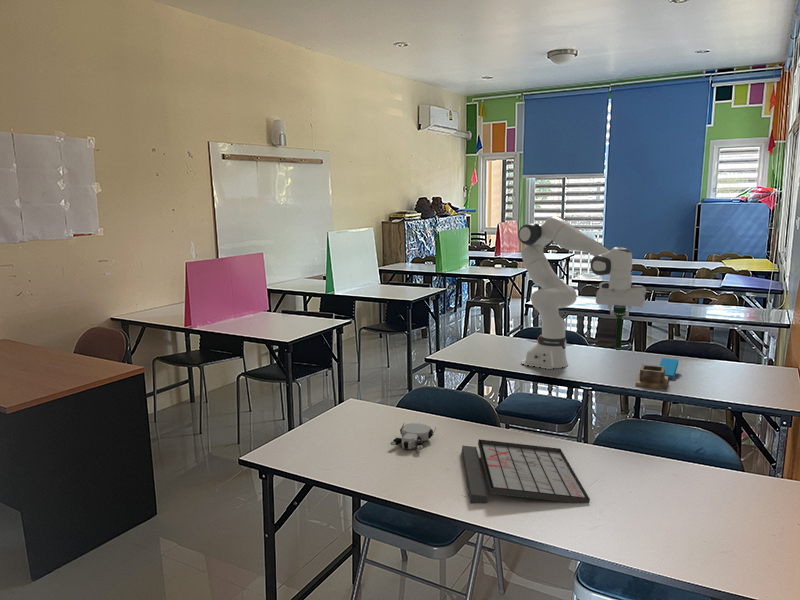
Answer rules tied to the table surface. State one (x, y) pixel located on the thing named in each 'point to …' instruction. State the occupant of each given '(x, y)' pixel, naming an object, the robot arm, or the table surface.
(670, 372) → the blue slanted block
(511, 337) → the table surface
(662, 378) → the stand
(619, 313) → the flashlight
